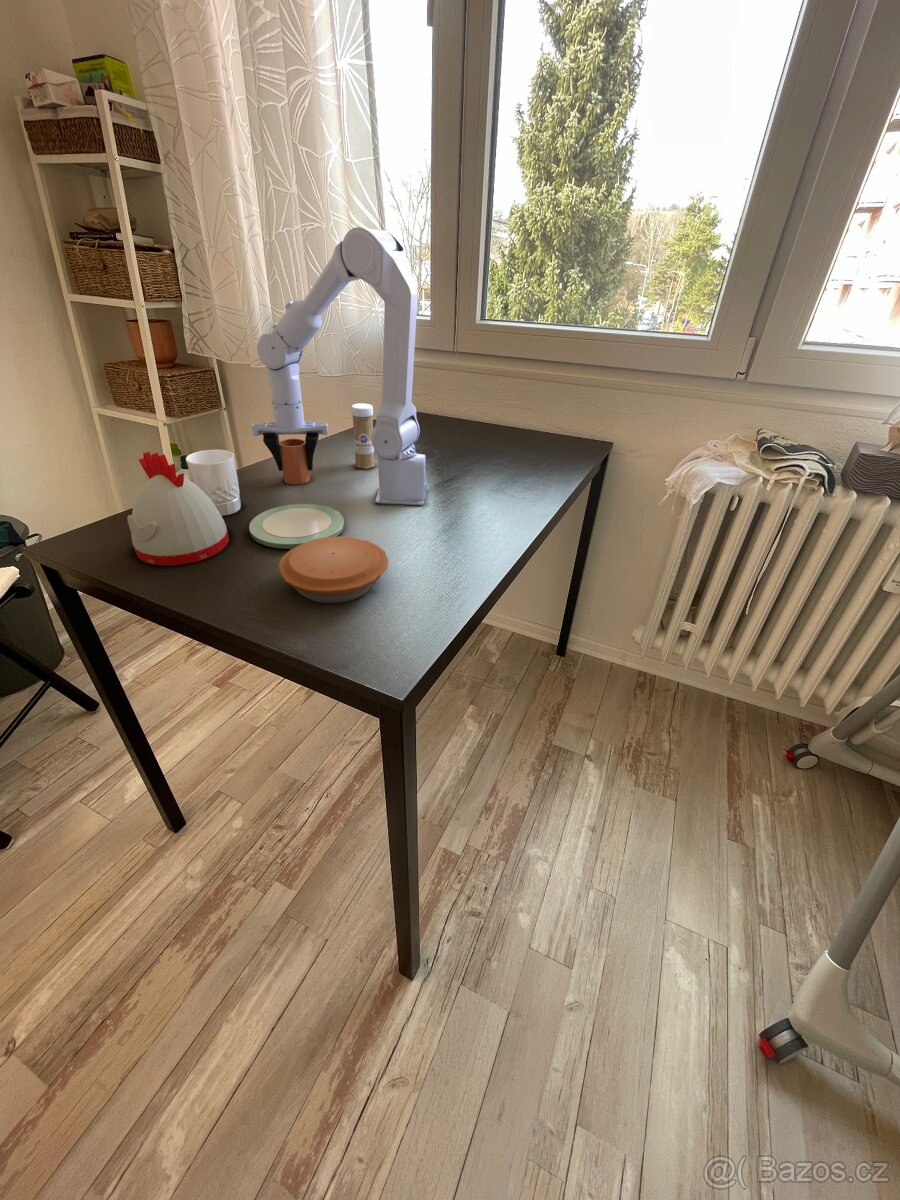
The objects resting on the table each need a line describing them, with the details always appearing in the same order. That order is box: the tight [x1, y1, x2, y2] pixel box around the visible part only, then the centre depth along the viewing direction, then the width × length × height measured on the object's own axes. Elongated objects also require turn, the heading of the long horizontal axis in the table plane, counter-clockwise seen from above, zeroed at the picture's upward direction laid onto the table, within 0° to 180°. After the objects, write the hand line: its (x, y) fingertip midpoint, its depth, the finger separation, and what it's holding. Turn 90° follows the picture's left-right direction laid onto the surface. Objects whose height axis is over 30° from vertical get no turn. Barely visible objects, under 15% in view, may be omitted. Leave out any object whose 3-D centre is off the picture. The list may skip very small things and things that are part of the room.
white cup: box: [185, 449, 242, 517], centre depth 92 cm, size 8×8×10 cm
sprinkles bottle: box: [350, 402, 376, 470], centre depth 113 cm, size 5×5×14 cm
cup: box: [279, 437, 311, 485], centre depth 106 cm, size 5×5×8 cm
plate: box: [248, 503, 345, 550], centre depth 89 cm, size 16×16×1 cm
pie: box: [278, 535, 389, 604], centre depth 74 cm, size 16×16×5 cm
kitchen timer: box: [126, 451, 230, 566], centre depth 79 cm, size 14×14×15 cm
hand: (296, 468), depth 107 cm, fingers closed on cup, 5 cm apart
